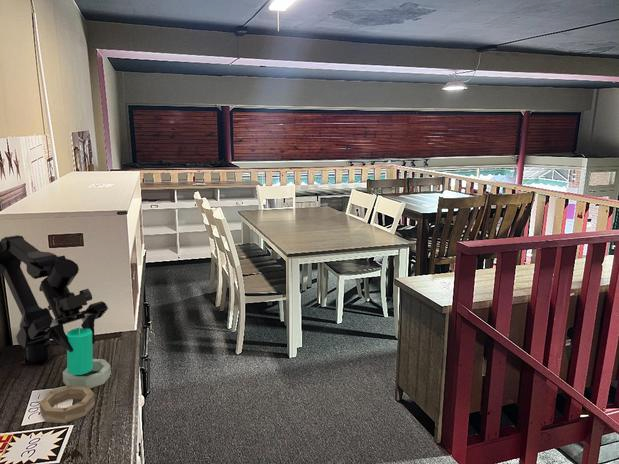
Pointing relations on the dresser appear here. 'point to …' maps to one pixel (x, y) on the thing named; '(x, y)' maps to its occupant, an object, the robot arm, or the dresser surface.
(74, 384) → the socket
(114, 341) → the dresser surface
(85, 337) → the candle
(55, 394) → the socket
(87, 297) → the robot arm
